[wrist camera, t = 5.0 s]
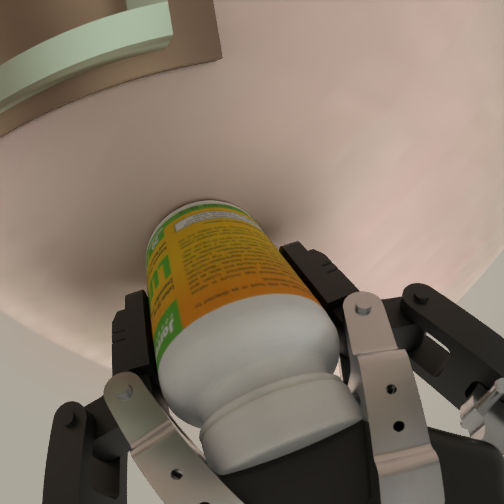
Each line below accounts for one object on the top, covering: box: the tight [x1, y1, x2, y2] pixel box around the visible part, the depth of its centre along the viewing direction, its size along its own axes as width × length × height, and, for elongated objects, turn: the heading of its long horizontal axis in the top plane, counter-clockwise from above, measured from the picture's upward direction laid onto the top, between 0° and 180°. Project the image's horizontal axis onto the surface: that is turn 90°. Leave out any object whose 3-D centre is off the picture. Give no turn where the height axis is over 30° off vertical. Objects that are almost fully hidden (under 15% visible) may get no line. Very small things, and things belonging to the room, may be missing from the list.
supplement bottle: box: [146, 200, 363, 475], centre depth 10 cm, size 5×5×10 cm
